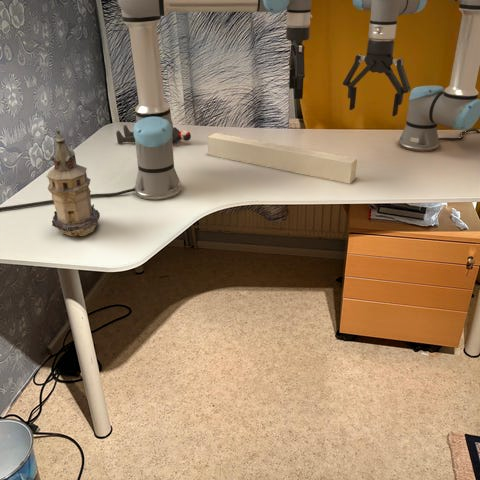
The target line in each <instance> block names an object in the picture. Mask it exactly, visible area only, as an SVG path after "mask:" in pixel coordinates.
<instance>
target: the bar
mask: <svg viewBox="0 0 480 480" xmlns="http://www.w3.org/2000/svg"><path fill="white" fill-rule="evenodd" d="M207 155H208V156H212V157H215V158H216V157H218V158H221V159H226V160H230V161H231V160H232V161H236V162H242V163H247V164H251V165H256V166H262V167H267V168H271V169H276V170H280V171H286V172H290V173H295V174H301V175H304V176H310V177H314V178H315V177H316V178H319V179H320V178H321V179H324V180H330V181H334V182H340V183H345V184H351V183H352V182H354V180H356V176H357V165H358V158H357V157H351V156H347V155H346V156H345V155H340V154H334V153H329V152H323V151H317V150H312V149H306V148H301V147H295V146H290V145H285V144H279V143H272V142H268V141H262V140H256V139H252V138H245V137H240V136H234V135H228V134H223V133H219V132H213V133H212V134H209V135H208V136H207Z"/></svg>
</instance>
